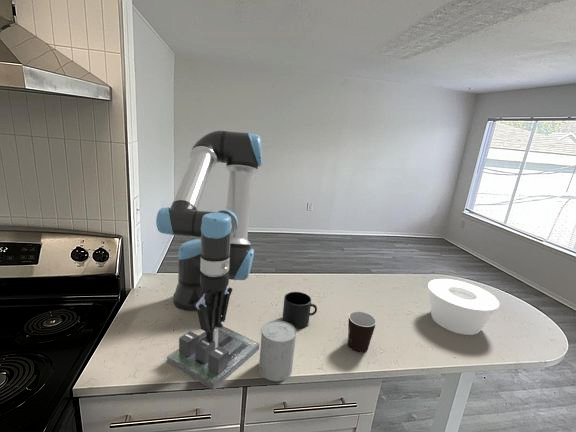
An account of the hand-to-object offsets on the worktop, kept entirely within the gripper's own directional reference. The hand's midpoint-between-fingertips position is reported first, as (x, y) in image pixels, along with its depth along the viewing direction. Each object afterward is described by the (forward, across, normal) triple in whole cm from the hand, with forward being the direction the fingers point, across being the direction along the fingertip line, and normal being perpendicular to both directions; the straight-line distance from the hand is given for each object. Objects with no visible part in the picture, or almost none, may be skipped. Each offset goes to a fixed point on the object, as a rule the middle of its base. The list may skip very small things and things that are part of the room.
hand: (212, 347), depth 93 cm
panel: (+4, +2, 0) cm, 4 cm away
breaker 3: (+2, -4, -5) cm, 7 cm away
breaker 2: (+2, -3, 0) cm, 3 cm away
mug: (+4, +32, -11) cm, 35 cm away
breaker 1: (+2, -3, +6) cm, 7 cm away
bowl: (+4, +70, -59) cm, 92 cm away
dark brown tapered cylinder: (+4, +33, -33) cm, 47 cm away
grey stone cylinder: (+4, +8, -17) cm, 19 cm away
